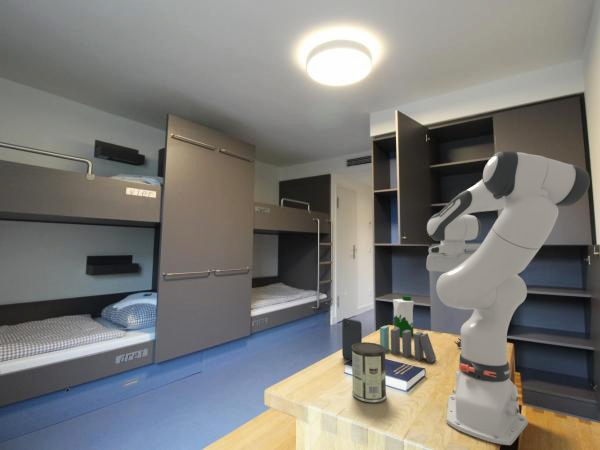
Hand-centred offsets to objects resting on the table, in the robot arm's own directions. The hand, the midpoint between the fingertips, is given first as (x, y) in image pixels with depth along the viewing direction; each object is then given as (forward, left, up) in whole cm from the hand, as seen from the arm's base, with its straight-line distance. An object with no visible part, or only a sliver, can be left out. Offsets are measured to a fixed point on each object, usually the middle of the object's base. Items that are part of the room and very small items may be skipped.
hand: (454, 283), depth 118 cm
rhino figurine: (+19, -1, -31) cm, 37 cm away
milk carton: (+24, +30, -31) cm, 50 cm away
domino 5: (-4, +8, -31) cm, 32 cm away
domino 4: (-4, +13, -31) cm, 34 cm away
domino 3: (-4, +18, -31) cm, 36 cm away
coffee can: (-45, +15, -31) cm, 57 cm away
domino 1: (-4, +28, -31) cm, 42 cm away
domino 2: (-4, +23, -31) cm, 39 cm away
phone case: (-24, +33, -31) cm, 52 cm away
